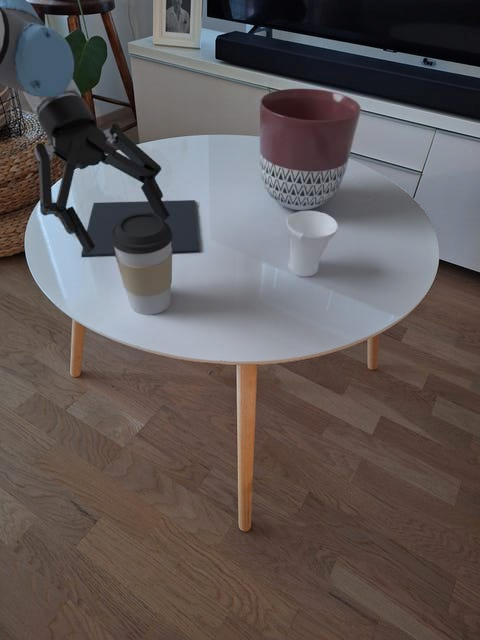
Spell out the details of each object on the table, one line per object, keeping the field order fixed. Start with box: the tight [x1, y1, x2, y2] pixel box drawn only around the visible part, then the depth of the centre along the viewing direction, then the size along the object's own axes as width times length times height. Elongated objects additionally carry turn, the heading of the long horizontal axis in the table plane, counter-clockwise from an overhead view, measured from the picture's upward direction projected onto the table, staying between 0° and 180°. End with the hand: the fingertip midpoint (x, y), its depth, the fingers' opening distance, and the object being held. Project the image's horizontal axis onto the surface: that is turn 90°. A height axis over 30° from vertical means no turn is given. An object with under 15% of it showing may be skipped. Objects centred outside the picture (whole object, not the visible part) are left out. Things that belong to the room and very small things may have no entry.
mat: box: [80, 199, 201, 258], centre depth 95 cm, size 22×20×1 cm
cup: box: [285, 210, 339, 278], centre depth 82 cm, size 9×9×10 cm
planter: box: [259, 88, 362, 211], centre depth 97 cm, size 20×20×21 cm
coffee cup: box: [111, 212, 173, 316], centre depth 72 cm, size 9×9×15 cm
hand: (129, 234), depth 72 cm, fingers open, 13 cm apart
